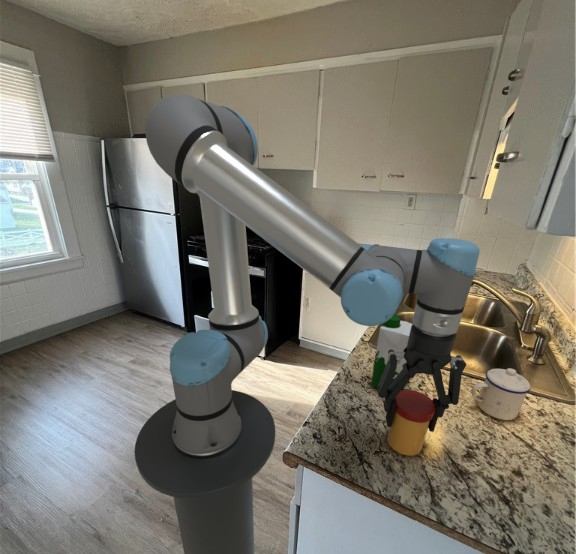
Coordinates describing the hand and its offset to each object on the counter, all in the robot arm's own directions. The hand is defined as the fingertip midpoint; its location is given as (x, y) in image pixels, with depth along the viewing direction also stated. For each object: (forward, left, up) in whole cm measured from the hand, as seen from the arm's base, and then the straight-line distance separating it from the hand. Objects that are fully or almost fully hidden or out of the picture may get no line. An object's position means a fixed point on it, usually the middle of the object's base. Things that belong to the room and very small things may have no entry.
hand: (409, 424), depth 66 cm
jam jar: (0, 0, -5) cm, 5 cm away
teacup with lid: (+20, +20, -5) cm, 29 cm away
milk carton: (-5, +20, -5) cm, 21 cm away
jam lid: (0, 0, +6) cm, 6 cm away
